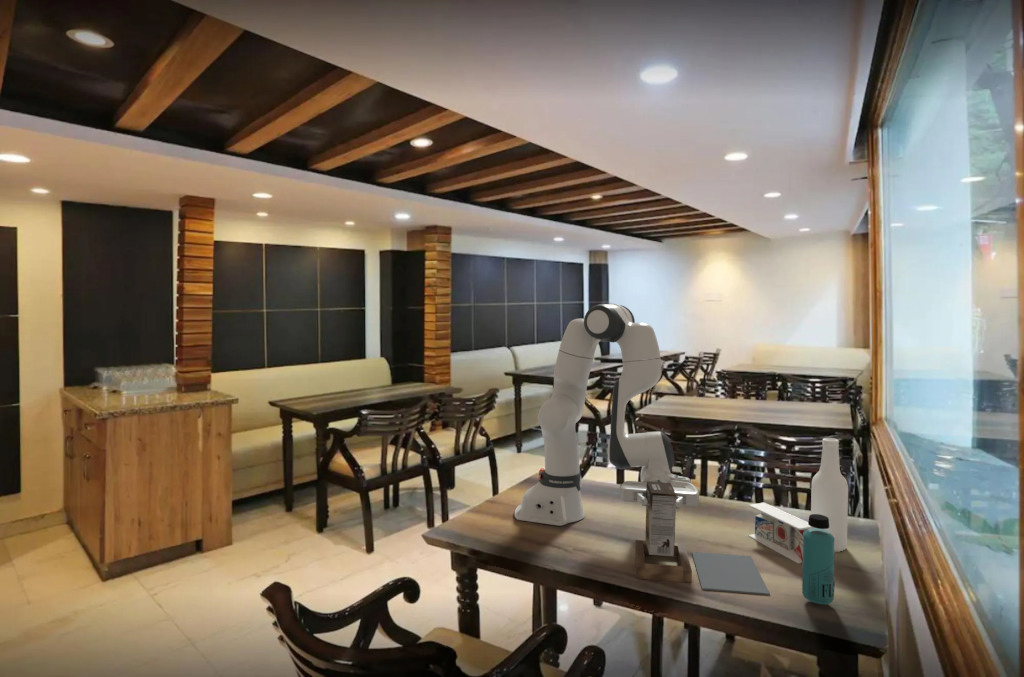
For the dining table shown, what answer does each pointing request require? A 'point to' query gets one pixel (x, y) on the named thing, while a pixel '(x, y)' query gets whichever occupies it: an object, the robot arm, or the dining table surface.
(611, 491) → the dining table surface
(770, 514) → the cigarette display
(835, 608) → the dining table surface
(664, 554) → the coffee box
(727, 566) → the rubber mat
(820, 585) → the beverage bottle
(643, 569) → the walnut cradle
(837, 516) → the alcohol
